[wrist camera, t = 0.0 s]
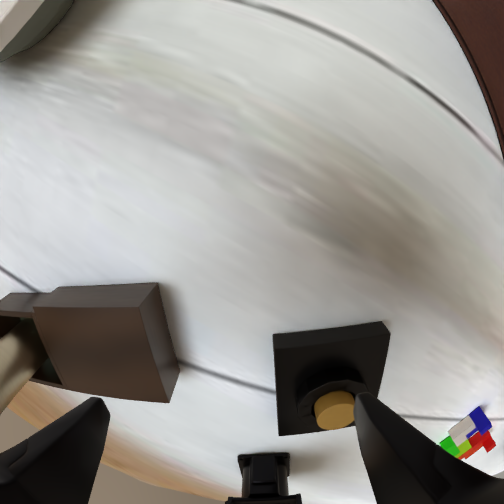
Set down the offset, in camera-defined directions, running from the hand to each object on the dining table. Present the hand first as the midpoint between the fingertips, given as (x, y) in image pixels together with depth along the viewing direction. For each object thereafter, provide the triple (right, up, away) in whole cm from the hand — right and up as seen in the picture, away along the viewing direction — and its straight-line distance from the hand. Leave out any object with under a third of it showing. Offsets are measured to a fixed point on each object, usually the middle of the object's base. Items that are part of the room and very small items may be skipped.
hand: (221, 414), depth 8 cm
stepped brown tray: (-16, -3, +16) cm, 23 cm away
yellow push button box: (+8, -7, +17) cm, 20 cm away
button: (+8, -8, +14) cm, 18 cm away
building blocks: (+36, -28, +23) cm, 51 cm away
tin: (-22, -3, +16) cm, 27 cm away
